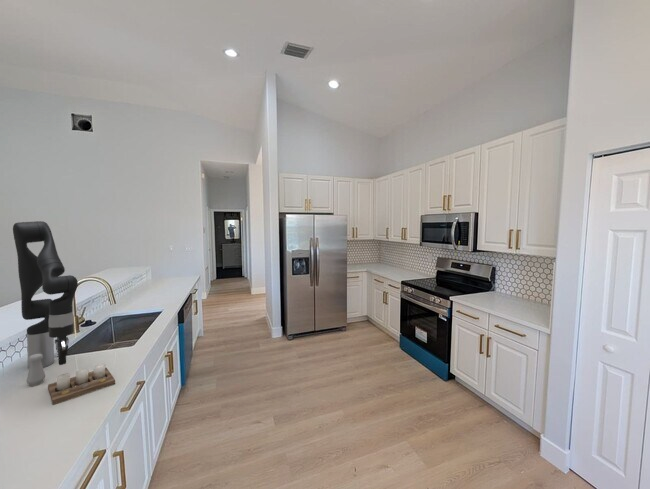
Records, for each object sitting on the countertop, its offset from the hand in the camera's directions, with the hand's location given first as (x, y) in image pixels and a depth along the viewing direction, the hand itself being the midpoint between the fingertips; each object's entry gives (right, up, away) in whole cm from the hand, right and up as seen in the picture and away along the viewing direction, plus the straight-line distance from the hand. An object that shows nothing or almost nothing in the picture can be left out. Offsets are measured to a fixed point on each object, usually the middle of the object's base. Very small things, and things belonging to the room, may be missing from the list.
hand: (62, 364), depth 114 cm
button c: (+7, -10, +10) cm, 16 cm away
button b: (+4, -10, +5) cm, 12 cm away
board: (+3, -12, +6) cm, 14 cm away
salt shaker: (-18, -12, +7) cm, 23 cm away
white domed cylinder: (0, -10, +1) cm, 10 cm away
